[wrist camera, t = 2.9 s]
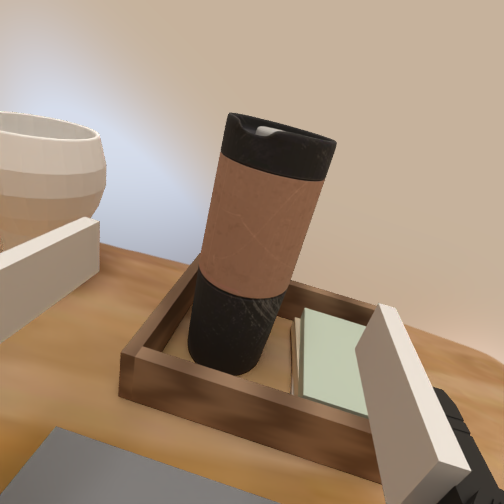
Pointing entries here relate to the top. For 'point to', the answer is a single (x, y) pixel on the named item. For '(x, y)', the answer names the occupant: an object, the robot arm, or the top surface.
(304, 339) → the top offcut
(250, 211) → the travel mug
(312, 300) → the brown wooden tray
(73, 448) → the charcoal mat
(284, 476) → the top surface
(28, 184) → the cup
